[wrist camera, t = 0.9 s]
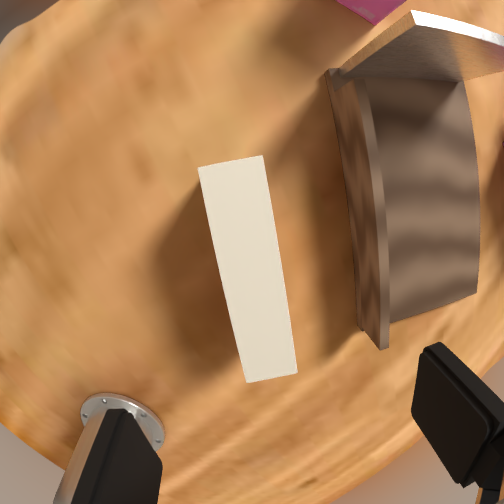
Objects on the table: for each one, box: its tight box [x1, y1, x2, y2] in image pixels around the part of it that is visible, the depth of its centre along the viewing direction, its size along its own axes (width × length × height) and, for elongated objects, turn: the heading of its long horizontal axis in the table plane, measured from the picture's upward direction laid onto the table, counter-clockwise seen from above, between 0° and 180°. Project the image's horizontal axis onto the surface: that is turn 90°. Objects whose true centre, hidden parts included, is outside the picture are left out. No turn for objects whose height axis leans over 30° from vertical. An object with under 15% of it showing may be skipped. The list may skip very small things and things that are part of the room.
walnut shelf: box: [325, 68, 480, 350], centre depth 28 cm, size 28×18×6 cm, turn 10°
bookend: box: [338, 10, 504, 82], centre depth 19 cm, size 1×16×14 cm, turn 100°
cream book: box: [198, 155, 298, 383], centre depth 26 cm, size 16×4×11 cm, turn 10°
